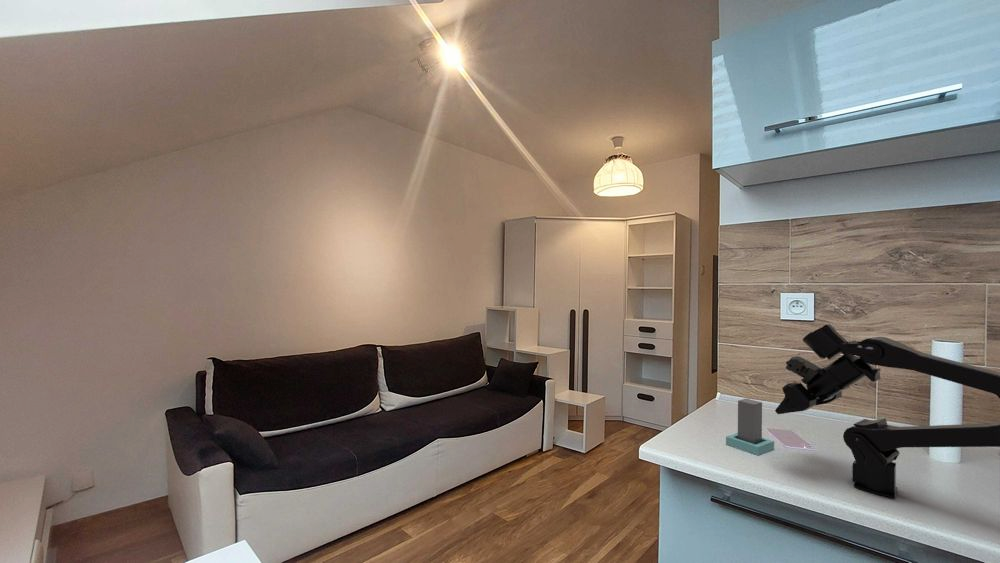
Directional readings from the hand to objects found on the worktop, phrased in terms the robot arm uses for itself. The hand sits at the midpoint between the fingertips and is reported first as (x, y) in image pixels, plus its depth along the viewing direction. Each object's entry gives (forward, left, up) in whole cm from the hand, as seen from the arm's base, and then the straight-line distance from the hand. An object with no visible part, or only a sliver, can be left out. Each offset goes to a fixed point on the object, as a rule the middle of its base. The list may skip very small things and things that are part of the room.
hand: (785, 409), depth 104 cm
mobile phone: (+3, -17, -13) cm, 22 cm away
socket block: (+9, -2, -13) cm, 15 cm away
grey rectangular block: (+9, -2, -13) cm, 15 cm away
